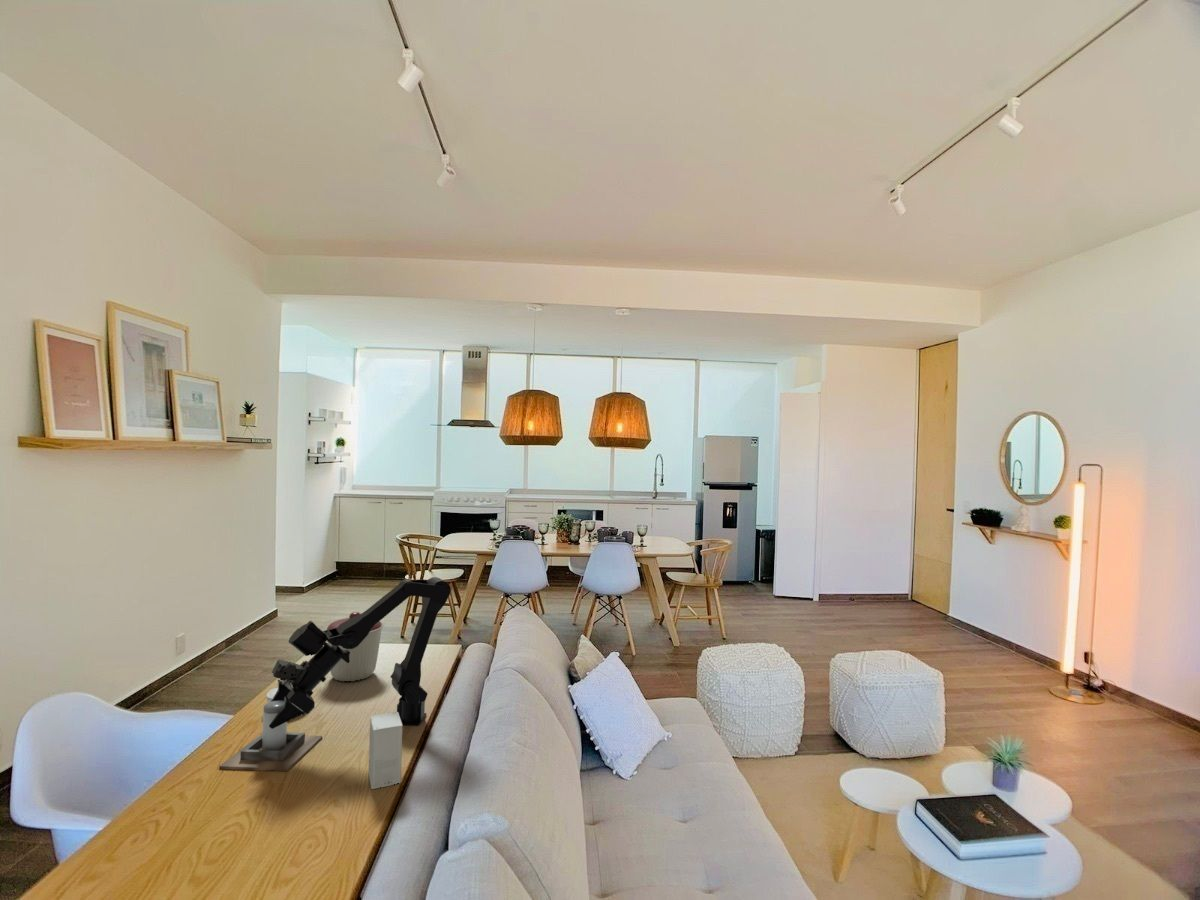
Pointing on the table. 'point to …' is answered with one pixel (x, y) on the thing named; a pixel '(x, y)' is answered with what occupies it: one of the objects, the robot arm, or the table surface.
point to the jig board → (272, 754)
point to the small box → (385, 750)
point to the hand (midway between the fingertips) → (268, 720)
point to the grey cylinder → (277, 735)
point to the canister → (358, 654)
